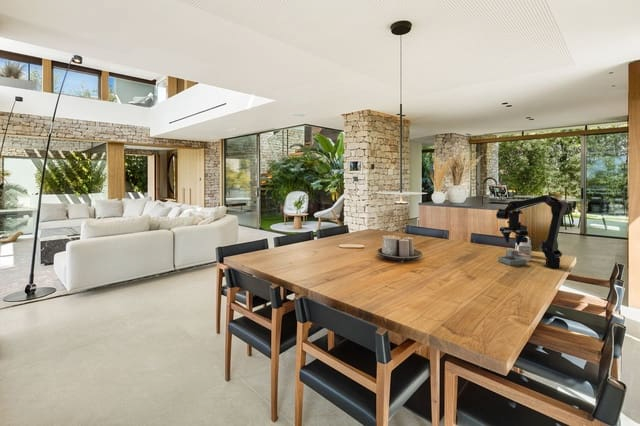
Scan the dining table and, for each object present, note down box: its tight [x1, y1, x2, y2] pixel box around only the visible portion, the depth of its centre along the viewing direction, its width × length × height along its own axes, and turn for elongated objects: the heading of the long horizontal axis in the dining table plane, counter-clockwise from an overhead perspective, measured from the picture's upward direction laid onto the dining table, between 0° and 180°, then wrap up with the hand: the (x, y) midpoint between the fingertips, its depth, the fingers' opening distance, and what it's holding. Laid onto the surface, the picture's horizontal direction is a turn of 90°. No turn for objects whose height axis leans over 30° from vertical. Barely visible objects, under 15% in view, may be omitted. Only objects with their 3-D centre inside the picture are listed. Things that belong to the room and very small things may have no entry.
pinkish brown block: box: [518, 254, 531, 262], centre depth 211 cm, size 6×4×4 cm
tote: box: [498, 255, 527, 267], centre depth 202 cm, size 11×11×4 cm
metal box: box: [505, 248, 518, 257], centre depth 213 cm, size 5×5×6 cm
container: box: [514, 235, 532, 258], centre depth 223 cm, size 8×8×13 cm
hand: (512, 244), depth 212 cm, fingers open, 9 cm apart
